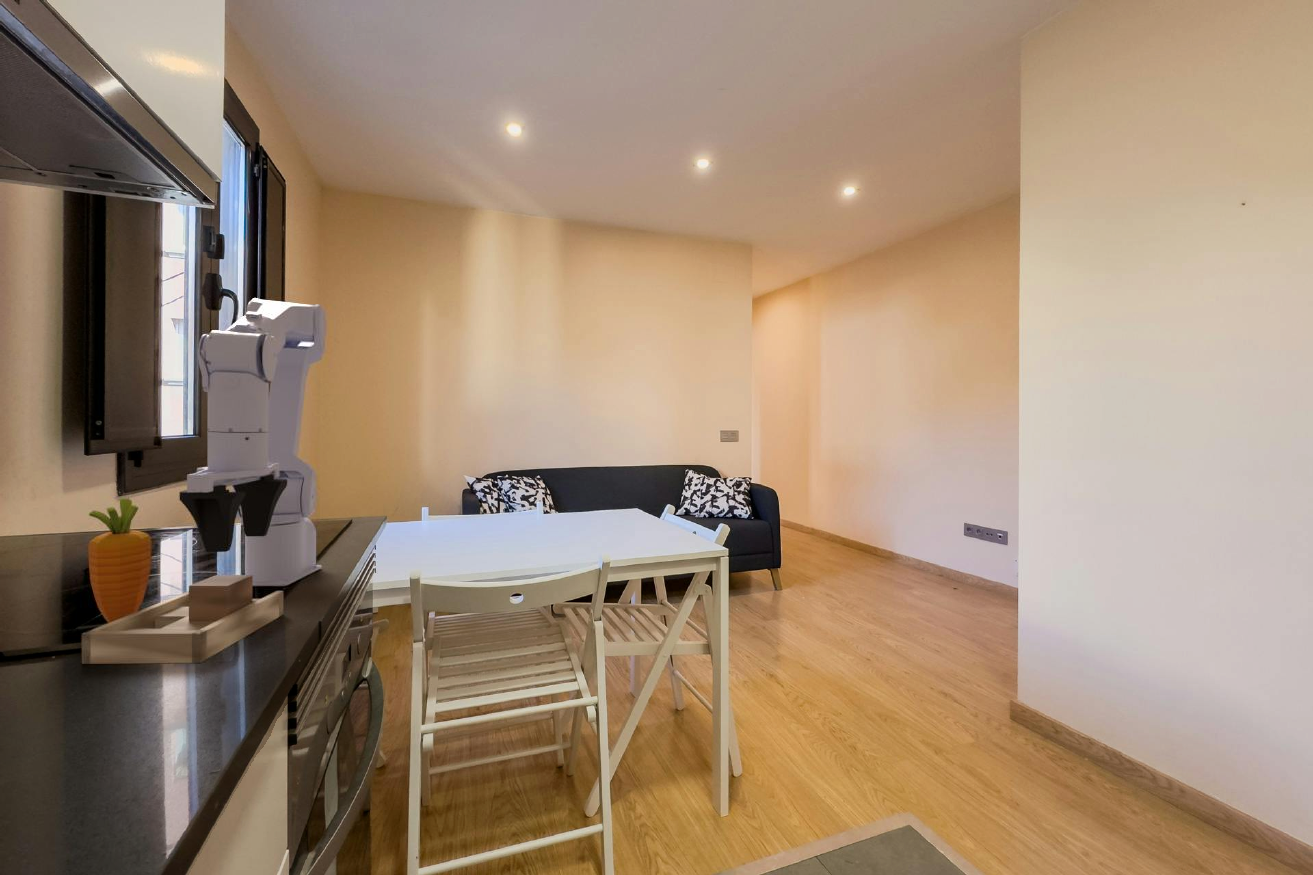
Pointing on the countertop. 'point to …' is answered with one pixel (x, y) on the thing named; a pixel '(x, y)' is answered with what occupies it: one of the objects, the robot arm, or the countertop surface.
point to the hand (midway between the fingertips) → (238, 543)
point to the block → (219, 596)
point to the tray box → (174, 633)
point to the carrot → (119, 563)
